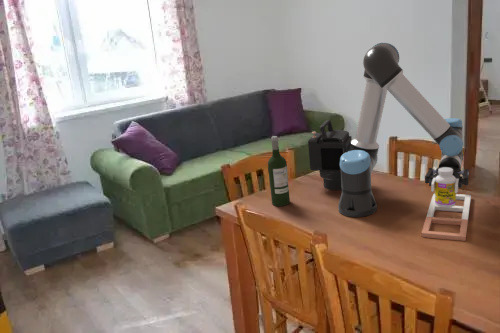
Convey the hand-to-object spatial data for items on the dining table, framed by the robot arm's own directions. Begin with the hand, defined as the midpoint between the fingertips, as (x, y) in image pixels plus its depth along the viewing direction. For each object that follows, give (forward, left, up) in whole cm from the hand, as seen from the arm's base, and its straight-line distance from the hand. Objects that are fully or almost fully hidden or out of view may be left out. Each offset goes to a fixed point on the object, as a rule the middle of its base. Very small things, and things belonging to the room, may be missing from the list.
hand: (444, 188), depth 162 cm
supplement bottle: (-4, +3, -8) cm, 9 cm away
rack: (-13, +10, -18) cm, 24 cm away
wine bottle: (-56, -42, -18) cm, 73 cm away
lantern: (-65, -14, -18) cm, 69 cm away
